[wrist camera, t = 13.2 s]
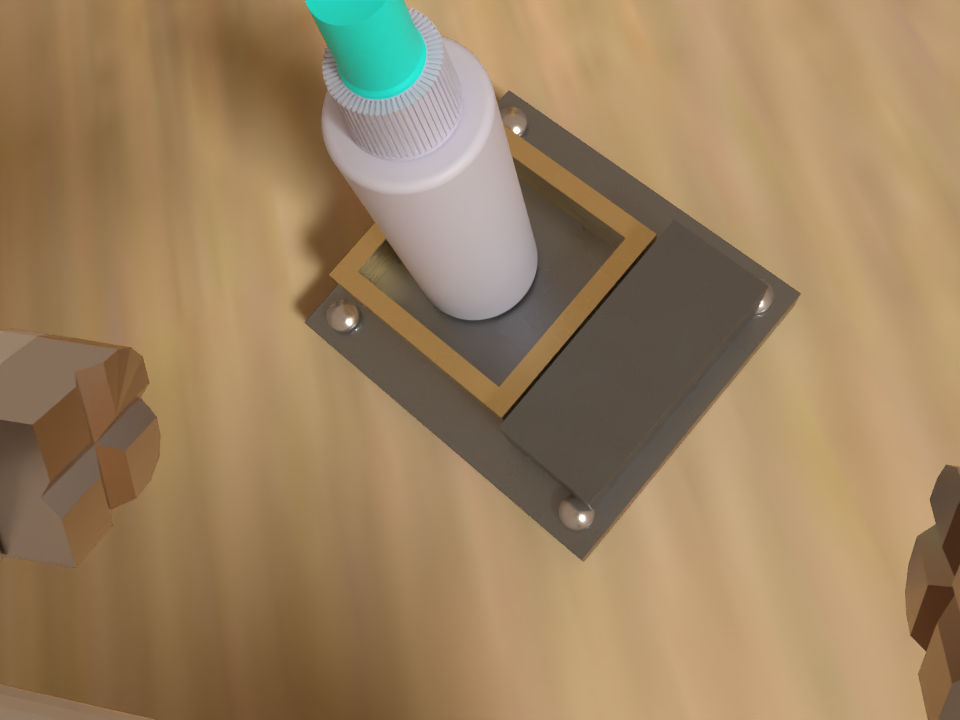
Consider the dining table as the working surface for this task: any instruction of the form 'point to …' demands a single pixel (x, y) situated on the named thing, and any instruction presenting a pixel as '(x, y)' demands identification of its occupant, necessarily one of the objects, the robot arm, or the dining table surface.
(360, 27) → the spray bottle
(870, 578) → the dining table surface
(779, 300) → the grey plate with frame
